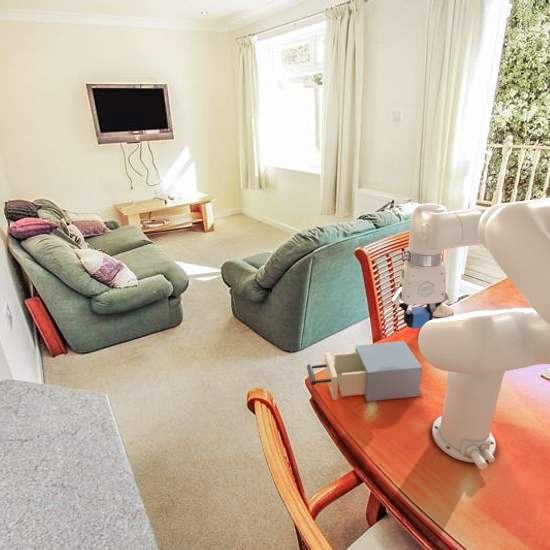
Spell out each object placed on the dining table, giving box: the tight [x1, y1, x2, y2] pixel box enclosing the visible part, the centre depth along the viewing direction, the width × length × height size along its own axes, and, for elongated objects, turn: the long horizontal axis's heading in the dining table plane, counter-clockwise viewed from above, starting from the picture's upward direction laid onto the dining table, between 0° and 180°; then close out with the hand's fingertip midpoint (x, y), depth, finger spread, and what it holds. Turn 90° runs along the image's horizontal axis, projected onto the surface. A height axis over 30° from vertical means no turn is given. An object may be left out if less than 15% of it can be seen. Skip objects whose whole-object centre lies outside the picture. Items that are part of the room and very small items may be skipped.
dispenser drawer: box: [306, 351, 367, 401], centre depth 98 cm, size 18×10×7 cm, turn 94°
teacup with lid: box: [422, 302, 455, 320], centre depth 119 cm, size 12×9×12 cm
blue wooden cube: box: [410, 305, 430, 330], centre depth 95 cm, size 4×4×4 cm
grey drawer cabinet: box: [354, 340, 423, 402], centre depth 99 cm, size 14×12×9 cm
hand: (417, 323), depth 95 cm, fingers closed on blue wooden cube, 4 cm apart
